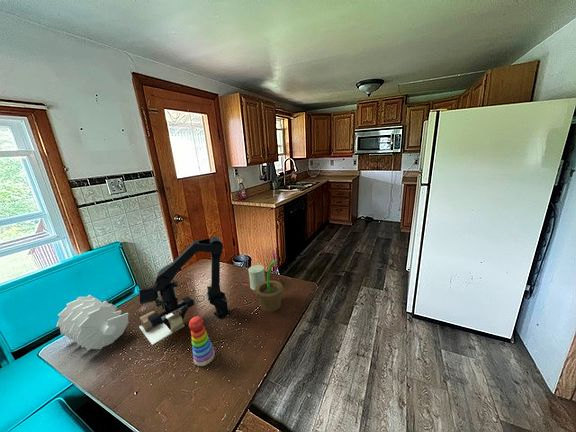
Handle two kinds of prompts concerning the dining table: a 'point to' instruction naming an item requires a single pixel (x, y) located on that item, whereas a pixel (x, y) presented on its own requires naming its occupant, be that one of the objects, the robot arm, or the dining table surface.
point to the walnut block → (145, 322)
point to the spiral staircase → (92, 322)
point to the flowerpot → (269, 292)
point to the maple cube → (175, 322)
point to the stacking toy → (200, 342)
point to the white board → (157, 332)
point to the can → (256, 275)
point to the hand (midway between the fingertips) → (175, 325)
